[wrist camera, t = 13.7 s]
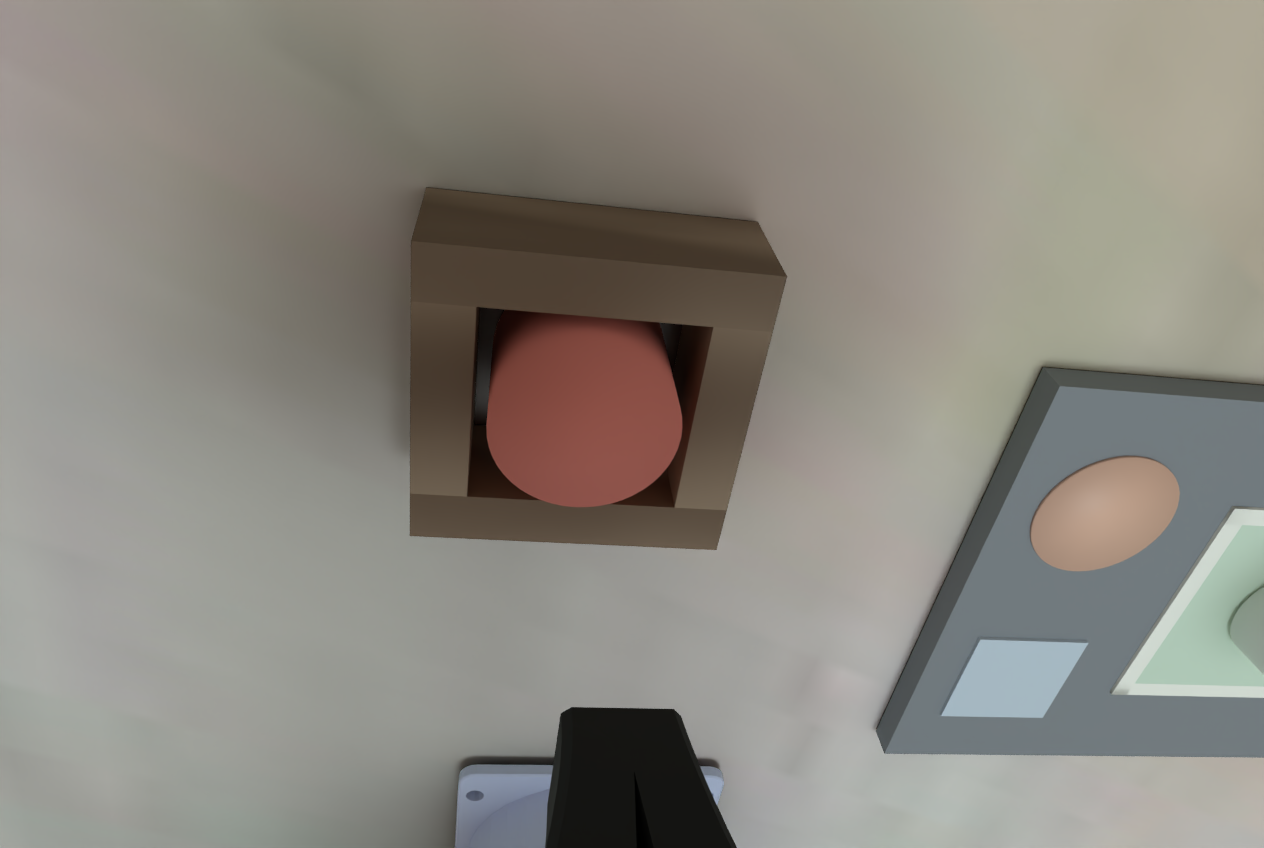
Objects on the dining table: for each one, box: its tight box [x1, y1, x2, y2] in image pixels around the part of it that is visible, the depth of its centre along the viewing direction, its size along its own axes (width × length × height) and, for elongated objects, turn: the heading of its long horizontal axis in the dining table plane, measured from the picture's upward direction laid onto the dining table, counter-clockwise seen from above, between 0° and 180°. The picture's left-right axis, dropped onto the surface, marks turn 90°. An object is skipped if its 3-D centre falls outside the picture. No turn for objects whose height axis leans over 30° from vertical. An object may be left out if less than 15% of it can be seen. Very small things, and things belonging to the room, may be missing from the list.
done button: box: [486, 309, 682, 507], centre depth 18 cm, size 4×4×3 cm
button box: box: [410, 188, 787, 550], centre depth 18 cm, size 6×6×2 cm
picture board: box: [876, 367, 1264, 757], centre depth 25 cm, size 13×15×1 cm
